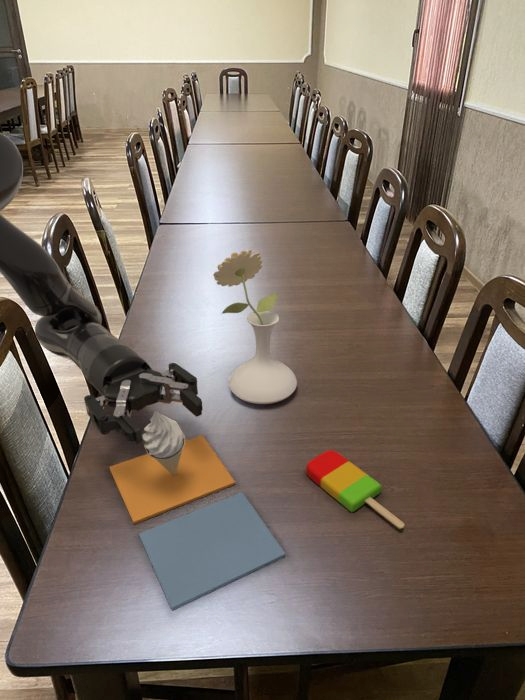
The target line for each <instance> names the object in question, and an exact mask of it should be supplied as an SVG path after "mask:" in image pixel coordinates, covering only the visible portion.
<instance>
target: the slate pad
mask: <svg viewBox="0 0 525 700" xmlns="http://www.w3.org/2000/svg"><path fill="white" fill-rule="evenodd" d="M138 537H139V540H140V543H142V547H143V548H144V551H145V553H146V555H147V557H148V560H149V562H150V564H151V567H152V569H153V571H154V573H155V576H156V579H157V581H158V582H159V585H160V588H161V590H162V592H163V595H164V597H165V599H166V601H167V603H168V605H169V608H170V610H171V611H174V610H177V609H179V608H181V607H182V606H185V605H187V604H189V603H191V602H194V601H195V600H198V599H199V598H201V597H203V596H205V595H208V594H210V593H212V592H214V591H216V590H218V589H220V588H222V587H224V586H226V585H229V584H231V583H233V582H235V581H237V580H239V579H241V578H243V577H245V576H248V575H249V574H252V573H253V572H256V571H258V570H261V569H263V568H264V567H267V566H268V565H270V564H272V563H274V562H277V561H278V560H281V559H283V558H285V557H286V552H285V551H284V549H283V548H282V547H281V545H280V544H279V542H278V541H277V539H276V538H275V537H274V535H273V533H272V532H271V531H270V530H269V527H268V526H267V525H266V524H265V522H264V521H263V519H262V518H261V517H260V515H259V514H258V512H257V510H256V509H255V508H254V507H253V505H252V503H251V502H250V501H249V500H248V498H247V497H246V494H244V493H243V491H240V492H238V493H236V494H233V495H231V496H228V497H226V498H223V499H221V500H219V501H216V502H214V503H211V504H209V505H206V506H203V507H201V508H199V509H196V510H193V511H191V512H189V513H186V514H185V515H182V516H179V517H176V518H174V519H171V520H168V521H167V522H164V523H161V524H159V525H157V526H154V527H151V528H149V529H147V530H144V531H142V532H139V533H138Z"/></svg>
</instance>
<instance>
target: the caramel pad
mask: <svg viewBox="0 0 525 700" xmlns="http://www.w3.org/2000/svg"><path fill="white" fill-rule="evenodd" d="M109 470H110V474H111V475H112V477H113V480H114V482H115V484H116V487H117V489H118V491H119V494H120V496H121V498H122V500H123V503H124V505H125V507H126V510H127V512H128V514H129V516H130V519H131V521H132V524H133V525H137V524H139V523H141V522H144V521H146V520H149V519H151V518H154V517H156V516H159V515H162V514H164V513H167V512H169V511H173V510H174V509H177V508H179V507H182V506H184V505H187V504H189V503H193V502H194V501H197V500H199V499H202V498H205V497H207V496H210V495H213V494H215V493H217V492H221V491H222V490H224V489H227V488H230V487H233V486H236V481H235V479H234V478H233V477H232V475H231V474H230V472H229V471H228V470H227V468H226V467H225V465H224V463H223V462H222V461H221V459H220V458H219V456H218V455H217V453H216V452H215V451H214V449H213V447H211V445H210V444H209V443H208V440H207V439H206V437H205V436H204V435H203V434H201V435H198V436H195V437H192V438H188V439H185V445H184V447H183V449H182V453H181V456H180V460H179V464H178V468H177V472H176V475H172V474H171V473H170V472H169V471H168V470H167V469H165V468H164V467H163V466H162V465H161V464H160V463H159V462H158V461H157V460H156V459H155V458H153V457H151V456H150V455H149V454H148V453H145V454H142V455H140V456H136V457H134V458H130V459H128V460H125V461H122V462H119V463H117V464H113V465H111V466H109Z"/></svg>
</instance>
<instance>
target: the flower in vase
mask: <svg viewBox="0 0 525 700" xmlns="http://www.w3.org/2000/svg"><path fill="white" fill-rule="evenodd" d="M252 253H253V250H252V249H247V250H241V251H240V252H239V253H238V252H236V251H235V252H232V253H231V254H230V257H229V256H228V257H226V258H224V259H223V261H222V262H221V263H219V264H218V265H217V266H216V268H217V270H216V271H215V272H214V273H213V279H214V281H216V285H218V286H221V287H229V288H231V287H233V286H239V285H241V284H242V286H243V289H244V295H245V300H246V303H245V302H234V303H231V304H229V305H228V306H227V307H225V308H224V310H223V311H222V312H221V314H240V313H242V312H243V311H245V310H246V309H247V308H248V307H249V308H250V309H251V311H252V312H251V313H249V314H248V315H247V316H246V320H247V322H248V323H249V324H250V326H251V327H252V329H253V332H254V337H255V338H254V339H255V354H254V356H253V357H252V358H250V359H248V360H247V361H245V362H243V363H241V364H240V365H239V366H237V367H236V368H235V369H234V370H233V371H232V373H231V374H230V377H229V379H228V387H229V389H230V391H231V392H232V394H234V395H235V396H236V397H237V398H239V399H240V400H242V401H244V402H247V403H249V404H254V405H255V404H256V405H271V404H275V403H278V402H282V401H284V400H286V399H287V398H289V397H291V395H292V394H293V393H294V392H295V390H296V389H297V386H298V380H297V377H296V375H295V373H294V372H293V370H292V369H291V368H290V367H288V366H287V365H286V364H284V363H283V362H281V361H279V360H277V359H275V358H273V356H272V355H271V354H272V353H271V338H272V334H273V329H274V327H275V326H276V324H277V323H278V322H279V320H280V316H279V314H277V313H276V312H273V311H270V310H271V309H273V308H274V306H275V305H276V302H277V299H278V292H275V293H273V294H271V295H268V296H265V297H263V298H261V299H260V300H259V301H258V303H257V306H256V309H255V308H254V307H253V305H252V304H251V302H250V300H249V296H248V289H247V286H246V282H247V281H248V280H251V279H254V278H255V277H256V274H258V273H259V271H260V270H261V269H262V268H263V259H262V256H261V253H260V252H256V253H253V254H252Z"/></svg>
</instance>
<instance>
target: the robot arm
mask: <svg viewBox="0 0 525 700" xmlns="http://www.w3.org/2000/svg"><path fill="white" fill-rule="evenodd" d="M21 154H22V153H21V152H20V150H19V147H17V145H16V144H15V143H14V141H13V140H11V138H10V137H8V136H7V135H5V134H4V133H2V132H0V274H1V275H2V276H3V278H4V279H5V280H6V282H8V283H9V285H10V286H11V287H12V289H13V290H14V292H15V293H16V294H17V295H18V297H19V298H20V299H21V301H22V302H23V303H24V304H25V306H26V307H27V309H28V310H29V311H31V312H32V314H35V315H37V316H39V319H38V320H37V322H36V324H35V327H34V333H35V334H34V335H35V337H36V340H37V341H38V343H39V344H40V345H41V346H42V348H44V349H45V350H47V351H48V352H50V353H52V354H53V355H56V356H58V357H60V358H63V359H65V360H69V361H71V362H73V363H74V365H76V367H77V368H78V369H79V370H80V371H81V372H82V374H83V376H84V377H85V379H86V380H87V382H88V383H89V384H90V385H92V387H94V389H96V391H97V392H98V393H99V394H100V395H101V396H97V397H95V396H94V395H93V394H88V395H85V396H83V397H84V398H83V399H84V404H85V408H86V409H85V410H86V414H87V415H88V417H89V419H90V420H91V421H92V423H93V424H94V425H95V427H96V428H97V430H98V431H99V433H100V435H102V436H103V435H104V436H106V435H109V434H110V433H111V431H115V430H116V431H117V432H120V434H121V435H122V436H123V437H124V439H126V440H127V441H128V442H130V443H134V444H136V445H139V444H141V443H144V439H143V438H142V435H143V432H142V430H141V427H140V426H138V424H137V423H136V422H135V421H134V420H133V419H132V418H131V416H132V413H133V411H136V412H139V411H141V410H143V409H144V408H146V407H149V406H152V405H155V404H157V403H162V404H168V405H170V404H171V403H172V402H174V403H181V404H182V406H183V407H185V409H187V411H188V412H190V413H191V414H192V415H193V416H194V417H196V418H198V417H200V416H202V414H203V401H202V398H200V397H199V396H198V394H199V390H198V378H197V377H196V376H194V375H193V374H192V373H191V372H189V371H188V370H186V369H185V368H184V367H182V366H180V365H179V364H178V363H176V362H171V363H169V364H168V369H166V370H164V371H162V372H160V371H157V370H154V369H152V368H151V366H150V365H149V364H148V362H147V361H146V360H145V359H143V357H141V355H139V354H138V353H137V352H135V351H134V350H133V348H131V347H130V346H129V345H128V344H127V343H125V342H124V341H122V340H121V339H119V338H117V337H116V336H115V335H114V334H112V332H111V331H110V330H108V329H107V328H106V327H104V325H102V321H103V318H102V317H103V316H102V314H101V311H100V309H98V306H97V305H95V304H94V303H93V302H92V301H91V300H90V299H89V298H86V296H84V295H83V294H81V293H80V292H78V291H77V290H76V289H75V288H74V287H73V286H72V284H71V283H70V282H69V281H68V279H67V278H66V276H65V275H64V273H63V272H62V270H61V268H60V267H59V265H58V263H57V262H56V261H55V259H54V258H53V256H52V255H51V254H50V253H49V252H48V250H47V249H45V248H44V247H43V246H42V245H41V244H40V243H38V242H37V241H36V240H35V239H34V238H32V237H31V236H30V235H28V234H27V233H25V232H24V231H23V230H22V229H20V228H19V227H17V226H16V225H15V224H14V223H12V222H11V221H10V220H9V219H7V217H5V216H4V215H3V214H2V213H1V211H3V210H4V209H6V208H7V206H9V205H10V204H11V203H12V201H13V200H14V199H15V197H16V196H17V194H18V193H19V191H20V188H21V185H22V182H23V179H24V178H23V177H24V161H23V157H22V155H21ZM163 388H164V393H163ZM175 391H177V392H179V393H176V392H175ZM106 406H107V407H110V408H115V409H114V411H113V414H110V415H108V414H107V412H106V411H105V407H106Z"/></svg>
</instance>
